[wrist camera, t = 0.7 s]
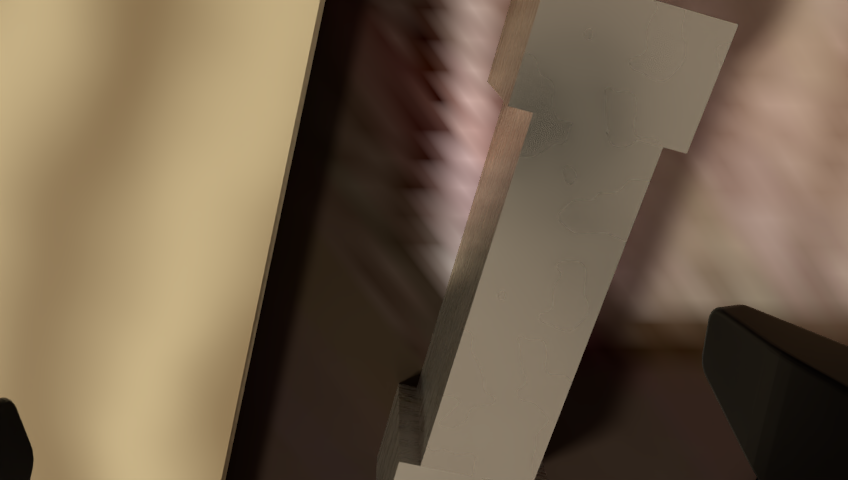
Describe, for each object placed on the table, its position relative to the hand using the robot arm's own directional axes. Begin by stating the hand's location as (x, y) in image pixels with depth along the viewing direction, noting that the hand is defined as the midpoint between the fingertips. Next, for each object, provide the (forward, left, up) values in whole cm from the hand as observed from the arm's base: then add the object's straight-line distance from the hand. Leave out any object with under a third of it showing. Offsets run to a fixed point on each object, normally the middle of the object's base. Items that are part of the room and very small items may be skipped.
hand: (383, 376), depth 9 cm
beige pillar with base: (-4, +2, -12) cm, 13 cm away
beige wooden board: (+8, +5, -12) cm, 15 cm away
